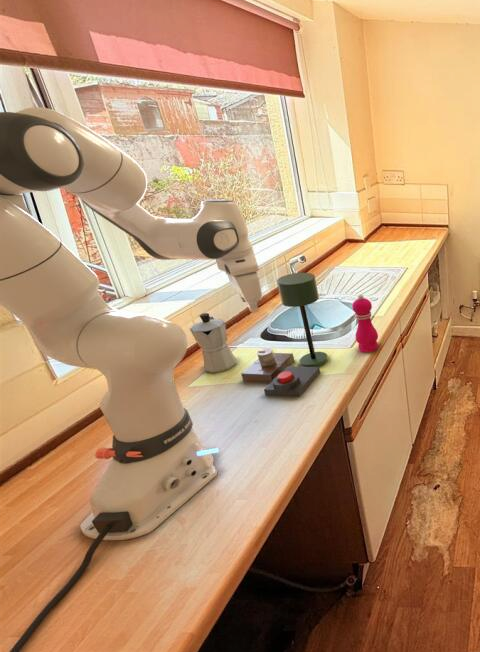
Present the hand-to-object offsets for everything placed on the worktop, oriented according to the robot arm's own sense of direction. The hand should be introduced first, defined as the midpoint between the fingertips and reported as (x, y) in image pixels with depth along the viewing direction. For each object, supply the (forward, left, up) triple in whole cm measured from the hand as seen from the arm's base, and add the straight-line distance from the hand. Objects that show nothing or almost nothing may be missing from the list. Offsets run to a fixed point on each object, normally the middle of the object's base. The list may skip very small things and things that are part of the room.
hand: (250, 306), depth 113 cm
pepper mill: (+17, -25, -23) cm, 38 cm away
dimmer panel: (+1, 0, -23) cm, 23 cm away
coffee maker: (+4, +18, -23) cm, 30 cm away
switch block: (-5, -11, -23) cm, 26 cm away
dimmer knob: (+1, 0, -20) cm, 20 cm away
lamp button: (-8, -11, -19) cm, 23 cm away
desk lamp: (+7, -11, -23) cm, 26 cm away
